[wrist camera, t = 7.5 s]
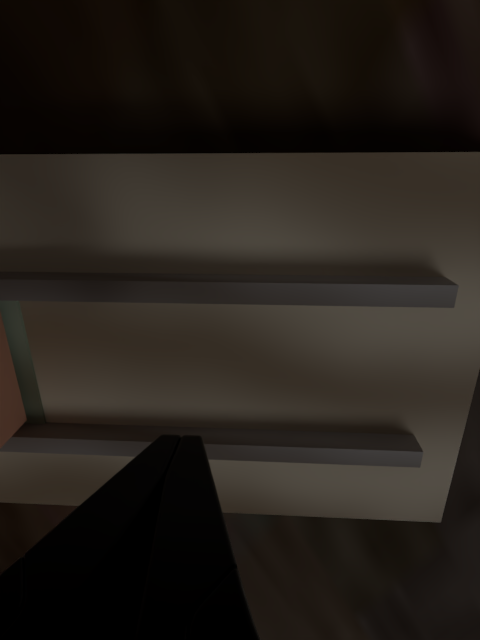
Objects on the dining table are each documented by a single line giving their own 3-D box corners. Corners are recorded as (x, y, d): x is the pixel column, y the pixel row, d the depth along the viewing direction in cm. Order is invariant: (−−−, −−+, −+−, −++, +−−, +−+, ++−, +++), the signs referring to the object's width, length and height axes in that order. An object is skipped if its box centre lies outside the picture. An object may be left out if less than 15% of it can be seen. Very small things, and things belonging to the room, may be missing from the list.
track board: (424, 489, 15) (485, 613, 11) (-68, 469, 16) (-183, 574, 12) (499, 153, 11) (649, 146, 7) (-185, 156, 12) (-431, 152, 8)
